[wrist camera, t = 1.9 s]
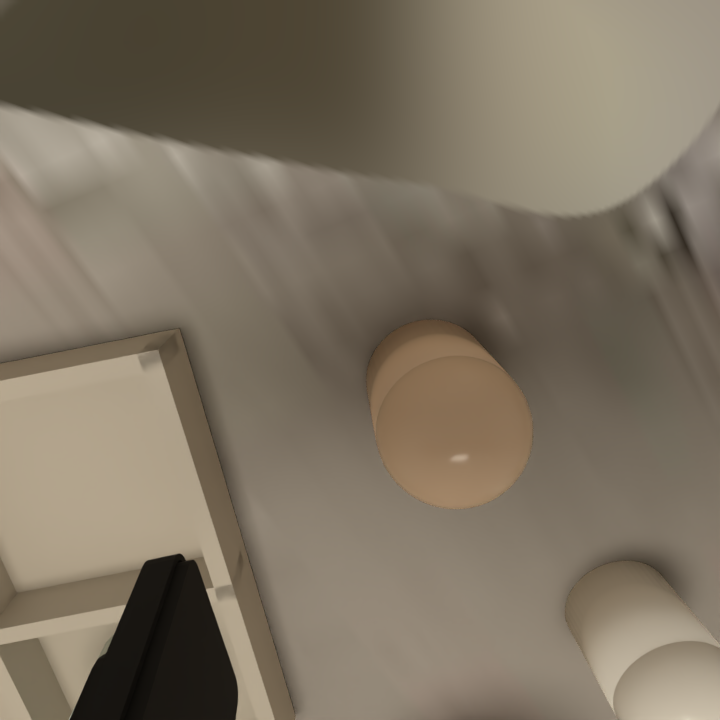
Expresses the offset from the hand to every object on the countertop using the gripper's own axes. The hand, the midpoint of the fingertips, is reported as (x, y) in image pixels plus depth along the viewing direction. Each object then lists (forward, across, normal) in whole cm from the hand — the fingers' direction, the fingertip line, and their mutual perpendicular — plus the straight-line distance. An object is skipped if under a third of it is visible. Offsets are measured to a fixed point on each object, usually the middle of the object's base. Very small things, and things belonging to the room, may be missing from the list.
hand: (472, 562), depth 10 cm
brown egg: (+10, -1, 0) cm, 10 cm away
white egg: (+9, -7, +12) cm, 17 cm away
